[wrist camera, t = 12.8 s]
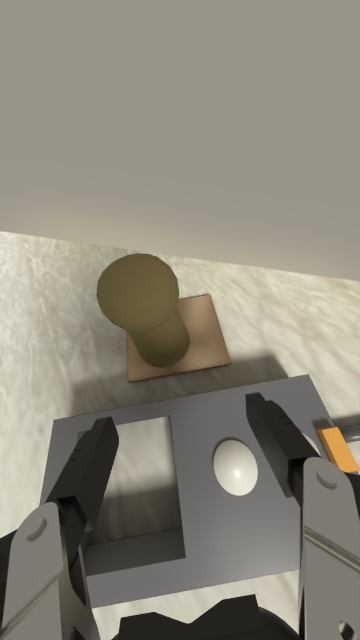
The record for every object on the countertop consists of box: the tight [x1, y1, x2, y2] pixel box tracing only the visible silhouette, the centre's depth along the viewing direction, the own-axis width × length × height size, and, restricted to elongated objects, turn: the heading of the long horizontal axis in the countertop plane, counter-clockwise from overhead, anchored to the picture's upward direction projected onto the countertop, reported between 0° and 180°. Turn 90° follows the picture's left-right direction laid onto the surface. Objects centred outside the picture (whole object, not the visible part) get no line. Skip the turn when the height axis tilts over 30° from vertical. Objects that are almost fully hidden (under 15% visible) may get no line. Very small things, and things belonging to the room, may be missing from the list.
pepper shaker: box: [97, 254, 190, 368], centre depth 14 cm, size 6×6×11 cm
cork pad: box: [127, 295, 231, 382], centre depth 20 cm, size 11×9×1 cm
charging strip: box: [39, 374, 360, 609], centre depth 13 cm, size 29×10×4 cm, turn 99°
